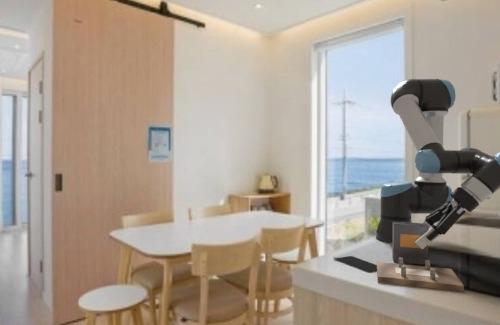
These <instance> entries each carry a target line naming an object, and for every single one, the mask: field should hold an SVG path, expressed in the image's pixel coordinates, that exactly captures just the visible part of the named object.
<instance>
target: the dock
mask: <svg viewBox="0 0 500 325" xmlns="http://www.w3.org/2000/svg"><path fill="white" fill-rule="evenodd" d="M376 265H377V272H376V276H377V283H382V284H391V285H392V284H393V285H400V286H401V285H403V286H411V287H419V288H426V289H427V288H428V289H438V290H445V291H453V292H464V291H465V286H464V284H463V283H462V281H461V279H459V277H458V275H456V273H455V272H454V271H453V269H452V268H446V267H436V266H435V267H434V266H431V260H429V259H428V260H425V265H424V266H423V265H416V264H406V263H403V258H399V262H398V263H395V262H382V261H381V262H380V261H376Z"/></svg>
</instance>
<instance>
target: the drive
mask: <svg viewBox="0 0 500 325" xmlns="http://www.w3.org/2000/svg"><path fill="white" fill-rule="evenodd" d="M429 230H430V228H429V226H428V225H427V224H426V223H422V222H412V223H409V222H393V239H392V248H391V256H392V257H391V258H393V259H392V262H393V261H394V262H393V263H399V258H403V264H413V263H414V264H413V265H424V264H425V260H429V244H428V245H427V246H426V247H425V248H424V249H421V248H420V247H419V246H418V245H417V244H416V243H415V242H416V241H417V240H418V239H419V238H420V237H422V236H423V235H424V234H425V233H426V232H427V231H429Z"/></svg>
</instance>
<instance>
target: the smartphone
mask: <svg viewBox="0 0 500 325" xmlns="http://www.w3.org/2000/svg"><path fill="white" fill-rule="evenodd" d="M335 261H337V262H339V263H342V264H344V265H347V266H349V267H353V268H355V269H357V270H360V271H363V272H365V273H369V274H370V273H377V264H375V263H372V262H369V261H367V260H365V259H362V258H358V257H355V256H353V255H348V256H343V257H342V256H341V257H337V258H335Z"/></svg>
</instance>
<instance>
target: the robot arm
mask: <svg viewBox="0 0 500 325" xmlns="http://www.w3.org/2000/svg"><path fill="white" fill-rule="evenodd" d="M455 101H456V89H455V87H454V85H453V84H452V82H451V81H449V80H447V79H439V78H429V79H428V78H425V79H424V78H421V79H419V78H418V79H416V78H410V79H406V80H403V81H401V82H399V83H398V84H397V85H396V87H394V89H393V91H392V93H391V95H390V106H391V108H392V111H393V112H394V113H395V114H396V115H397V116H399V118H400V120H401V122H402V123H403V126H404V129H405V130H406V131H407V133H408V136H409V137H410V140H411V141H412V142H411V143H413V146H414V147H415V150H416V154H415V157H414V163H415V168H416V169H417V171H418V176H417V177H416V178H415V179H414V184H413V183H412V181H410V180H409V181H406V180H405V181H404V180H403V181H392V182H391V181H390V182H385V183H384V184H382V185H381V189H380V195H379V196H380V219H379V222H378V225H377V229H376V231H375V238H376V239H377V240H378V241H381V242H386V243H392V239H393V222H409V223H413V222H412V216H413V215H414V214H416V215H417V214H418V215H419V214H421V215H422V214H424V215H425V214H427V215H426V216H425V219H424V220H423V221H422V222H421V223H426V224H427V225H428V226H429V231H427V232H426V233H425V234H424V235H423V236H422V237H420V238H419V239H418V240H417V241H416V242H415V243H416V244H417V245H418V246H419V247H420V248H421V249H424V248H425V247H426V246H427V245H428V246H429V245H430V244H431V243H432V242H433V241H434V240H436V239H437V238H438V237H439V236H441V235H446V233H448V232H449V230H450V229H451V228H452V227H453V226H454V225H455V223H456V222H458V221H459V219H460V218H461V217H462V216H463V215H464V214H466V212H468V213H472V212H473V211H474V210H476V208H478V207H479V206H480V203H483V202H484V201H486V200H490V199H491V195H493V194H494V193H495V192H496V191H498V190H499V189H500V151H499V152H498V153H496V154H494V155H490V154H488V153H486V152H483V151H482V150H480V149H478V148H474V147H464V148H462V149H460V150H455V149H454V150H450V149H445V148H444V125H445V124H444V122H445V119H444V118H445V116H446V115H448V113H449V109H451V108H452V107H453V106H454V105H455V103H454V102H455ZM443 174H453V175H454V174H461V175H463V174H467V175H468V174H470V176H468V177H467V179H466V180H464V181H463V182H462V183H461V184H460V186H458V187H456V188H455V189H454V190H453V189H452V188H451V186H450V185H447V180H446V179H445V178H444V177H443ZM452 190H453V191H452ZM412 214H413V215H412Z"/></svg>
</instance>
